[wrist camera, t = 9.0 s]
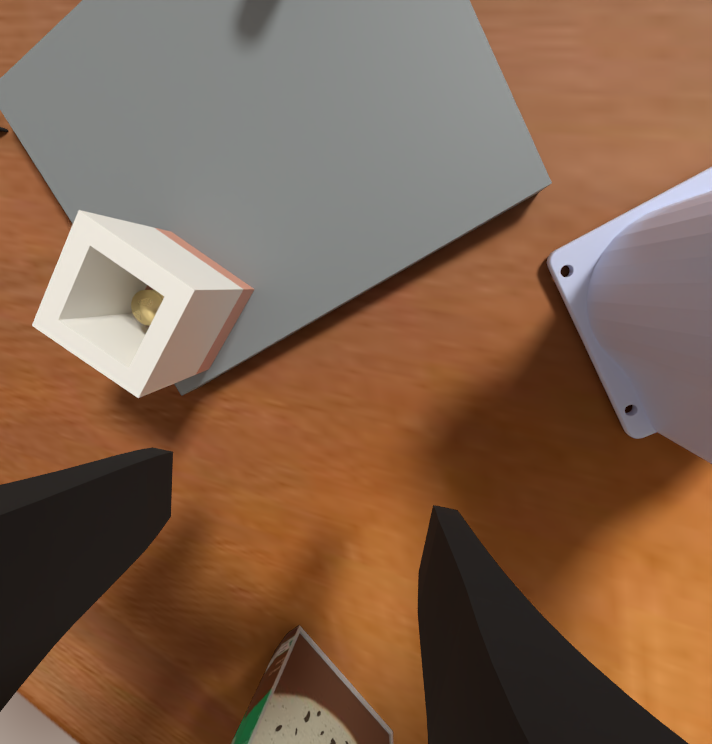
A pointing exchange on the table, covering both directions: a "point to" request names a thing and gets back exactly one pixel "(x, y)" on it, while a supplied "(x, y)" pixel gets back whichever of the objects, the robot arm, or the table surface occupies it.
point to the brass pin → (146, 305)
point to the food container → (308, 702)
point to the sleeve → (114, 296)
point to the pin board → (278, 139)
